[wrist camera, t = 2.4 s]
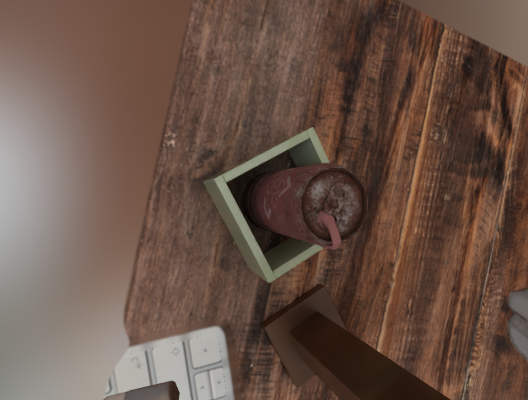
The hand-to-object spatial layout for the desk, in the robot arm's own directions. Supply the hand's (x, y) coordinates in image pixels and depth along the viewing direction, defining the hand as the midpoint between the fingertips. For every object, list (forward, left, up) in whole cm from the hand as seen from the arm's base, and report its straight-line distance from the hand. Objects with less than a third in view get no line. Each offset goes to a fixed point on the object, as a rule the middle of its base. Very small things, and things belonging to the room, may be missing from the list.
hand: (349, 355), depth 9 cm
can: (+9, -1, -29) cm, 31 cm away
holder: (+9, -1, -29) cm, 30 cm away
